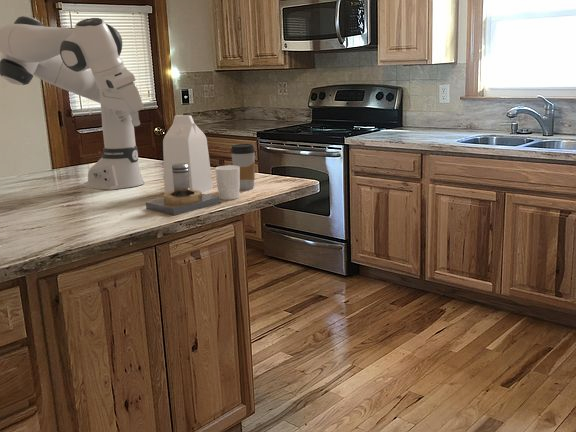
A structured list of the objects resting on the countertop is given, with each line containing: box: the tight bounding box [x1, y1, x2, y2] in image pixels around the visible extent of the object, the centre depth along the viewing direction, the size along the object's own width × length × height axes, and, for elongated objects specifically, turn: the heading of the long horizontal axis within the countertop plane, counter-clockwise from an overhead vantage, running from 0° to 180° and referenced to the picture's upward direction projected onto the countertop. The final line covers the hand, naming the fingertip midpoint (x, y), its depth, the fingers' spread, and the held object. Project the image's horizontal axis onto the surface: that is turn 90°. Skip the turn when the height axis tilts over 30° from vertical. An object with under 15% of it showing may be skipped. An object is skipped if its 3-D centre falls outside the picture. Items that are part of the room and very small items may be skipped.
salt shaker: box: [172, 163, 191, 196], centre depth 191 cm, size 5×5×11 cm
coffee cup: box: [230, 143, 256, 191], centre depth 213 cm, size 8×8×15 cm
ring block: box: [145, 189, 221, 216], centre depth 192 cm, size 18×14×4 cm
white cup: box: [214, 164, 241, 201], centre depth 200 cm, size 8×8×10 cm
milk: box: [162, 114, 214, 194], centre depth 210 cm, size 12×12×26 cm
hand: (130, 123), depth 177 cm, fingers open, 8 cm apart
